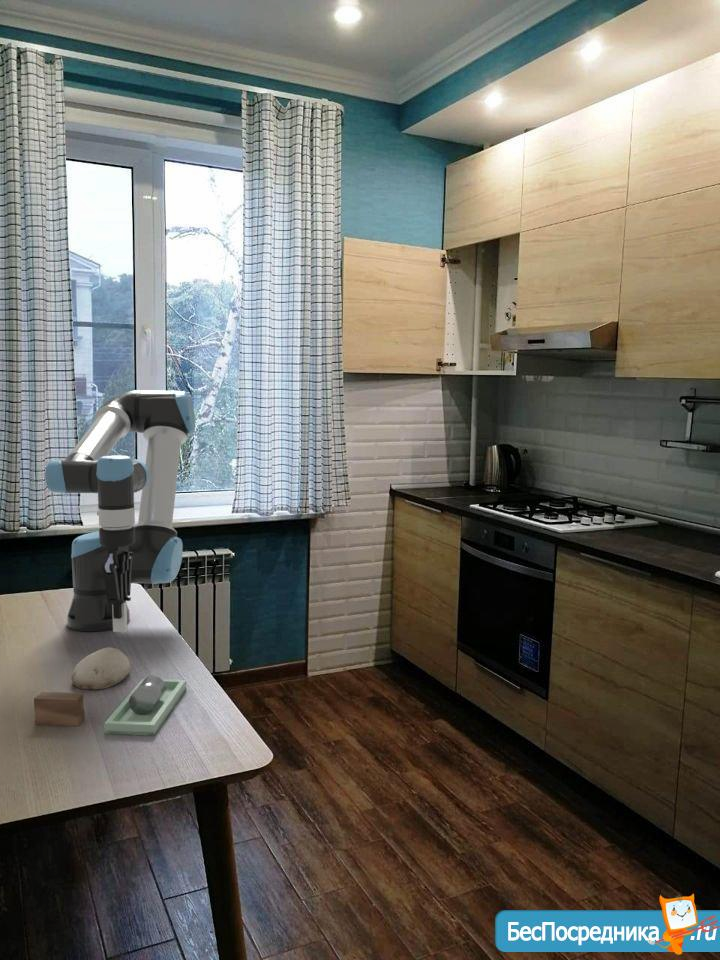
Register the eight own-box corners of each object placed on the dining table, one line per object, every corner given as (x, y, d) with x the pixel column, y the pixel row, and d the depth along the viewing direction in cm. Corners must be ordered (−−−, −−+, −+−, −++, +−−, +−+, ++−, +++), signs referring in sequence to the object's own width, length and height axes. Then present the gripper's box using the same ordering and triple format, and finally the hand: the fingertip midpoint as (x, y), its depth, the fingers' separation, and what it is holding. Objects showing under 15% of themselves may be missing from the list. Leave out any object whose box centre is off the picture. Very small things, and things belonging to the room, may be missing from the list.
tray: (142, 687, 157) (142, 678, 157) (186, 689, 157) (186, 680, 157) (104, 733, 138) (104, 723, 137) (154, 735, 137) (153, 725, 137)
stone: (94, 712, 156) (110, 686, 154) (57, 682, 157) (72, 655, 155) (129, 682, 169) (145, 657, 166) (94, 654, 169) (110, 629, 167)
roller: (165, 700, 151) (166, 676, 150) (153, 716, 144) (154, 691, 143) (141, 698, 151) (142, 674, 150) (128, 713, 144) (129, 689, 143)
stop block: (43, 717, 144) (41, 691, 143) (84, 718, 143) (83, 693, 143) (35, 724, 141) (33, 698, 140) (77, 726, 140) (76, 700, 140)
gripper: (111, 521, 175) (114, 621, 178) (87, 532, 162) (91, 640, 165) (143, 521, 175) (146, 622, 178) (122, 532, 162) (126, 641, 165)
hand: (120, 630), depth 171 cm, fingers closed
